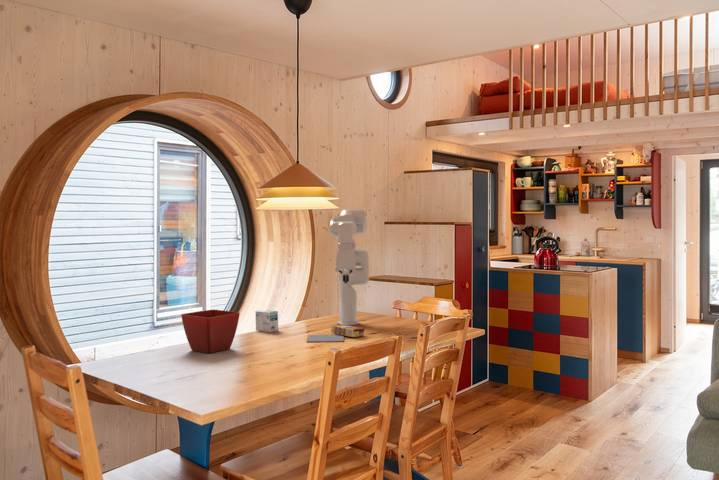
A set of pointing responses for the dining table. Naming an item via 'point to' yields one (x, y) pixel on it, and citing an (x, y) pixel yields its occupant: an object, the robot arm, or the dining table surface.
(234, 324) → the plant pot
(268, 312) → the light bulb box
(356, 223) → the robot arm
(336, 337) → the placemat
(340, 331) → the candy box
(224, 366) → the dining table surface
